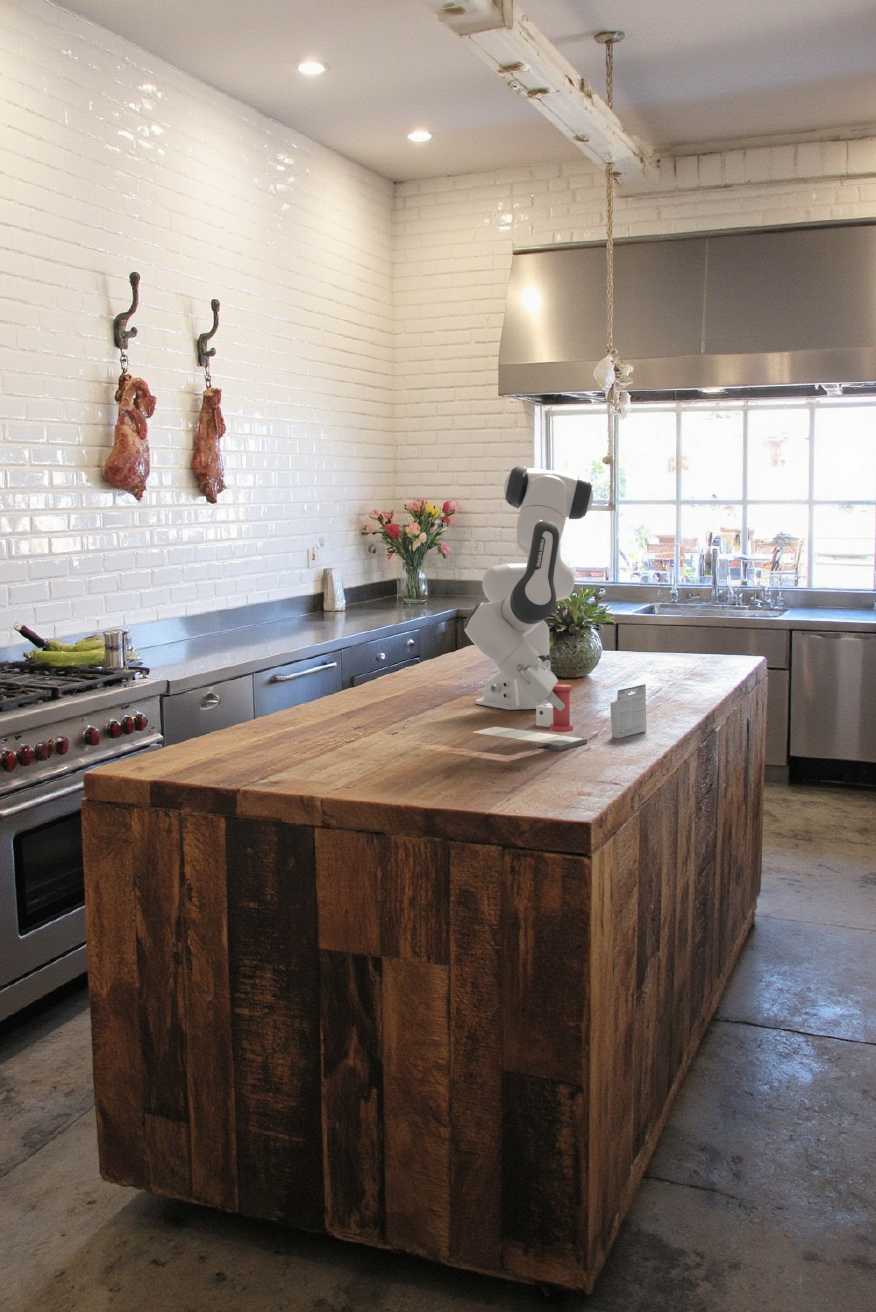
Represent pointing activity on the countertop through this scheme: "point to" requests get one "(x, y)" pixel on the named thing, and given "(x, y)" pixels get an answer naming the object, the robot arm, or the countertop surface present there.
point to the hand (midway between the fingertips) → (564, 706)
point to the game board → (536, 738)
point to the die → (545, 715)
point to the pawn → (562, 717)
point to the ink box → (629, 712)
